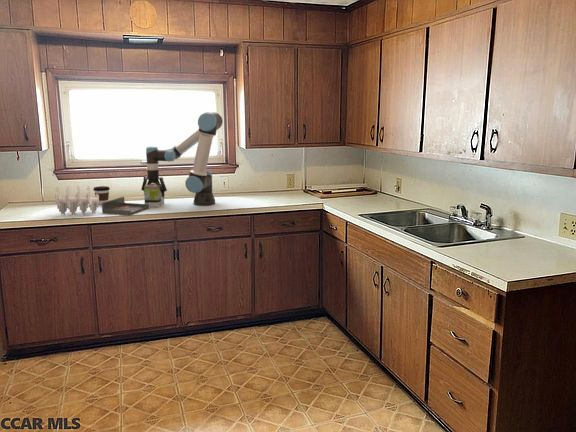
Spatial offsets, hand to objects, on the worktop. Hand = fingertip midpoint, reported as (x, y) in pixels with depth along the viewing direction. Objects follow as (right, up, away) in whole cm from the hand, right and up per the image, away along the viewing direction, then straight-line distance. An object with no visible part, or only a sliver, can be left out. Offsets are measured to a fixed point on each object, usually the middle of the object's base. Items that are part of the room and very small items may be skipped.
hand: (154, 201), depth 329 cm
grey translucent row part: (-41, -9, -27) cm, 50 cm away
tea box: (0, -3, +1) cm, 3 cm away
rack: (-14, -7, -18) cm, 24 cm away
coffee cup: (-37, -2, +4) cm, 38 cm away
